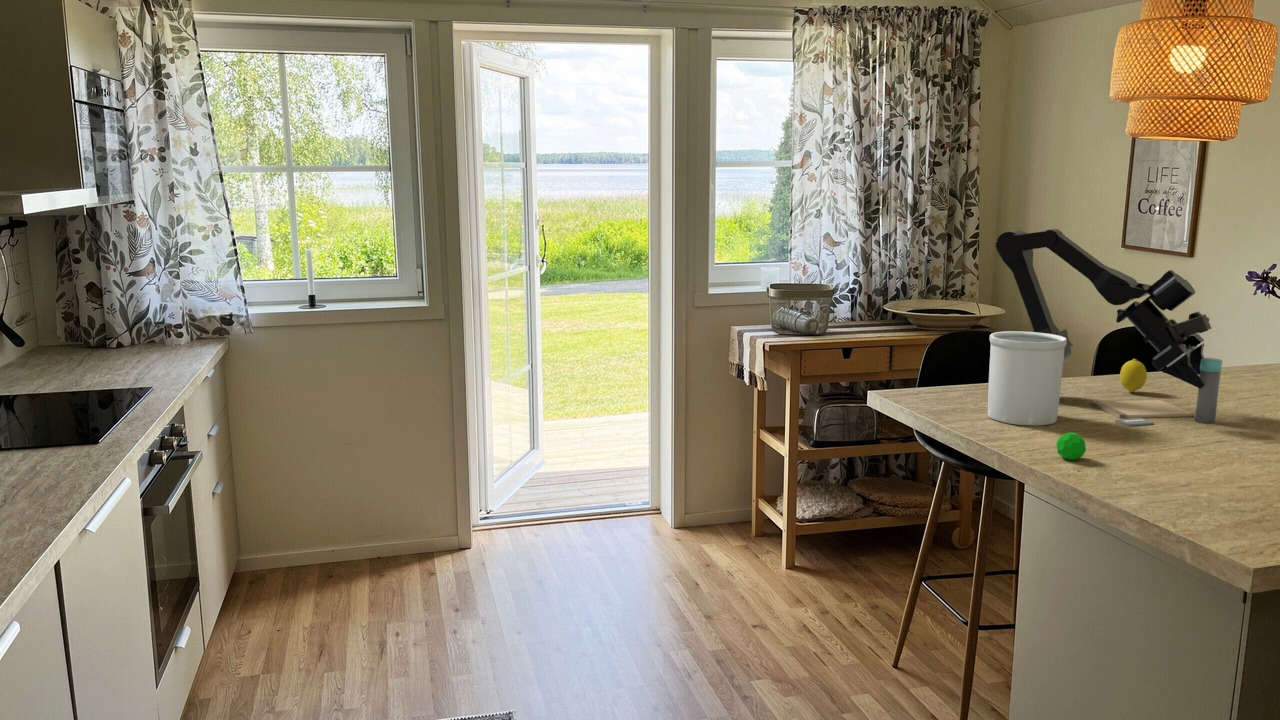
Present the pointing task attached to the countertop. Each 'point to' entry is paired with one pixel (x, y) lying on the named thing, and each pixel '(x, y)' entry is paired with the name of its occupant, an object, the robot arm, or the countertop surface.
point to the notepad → (1141, 409)
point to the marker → (1208, 390)
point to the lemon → (1133, 375)
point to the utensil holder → (1025, 377)
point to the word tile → (1134, 421)
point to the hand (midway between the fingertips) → (1207, 383)
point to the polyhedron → (1071, 446)
